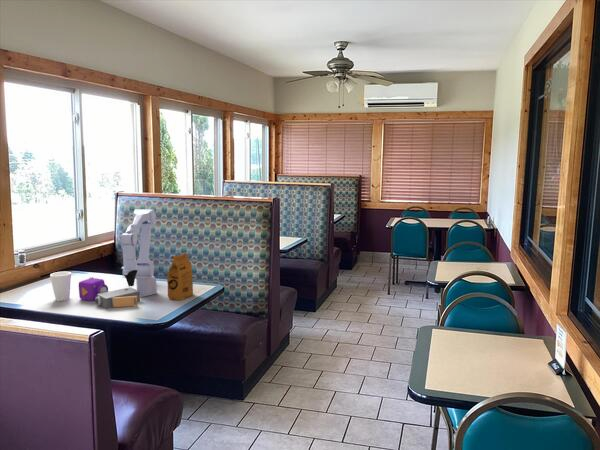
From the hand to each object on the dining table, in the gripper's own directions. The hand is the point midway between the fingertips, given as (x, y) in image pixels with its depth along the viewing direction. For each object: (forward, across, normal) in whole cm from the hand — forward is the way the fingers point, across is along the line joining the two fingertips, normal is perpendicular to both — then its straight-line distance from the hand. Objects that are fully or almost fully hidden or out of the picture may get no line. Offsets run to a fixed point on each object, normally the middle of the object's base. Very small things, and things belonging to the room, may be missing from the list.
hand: (131, 285), depth 245 cm
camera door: (+9, +3, -2) cm, 10 cm away
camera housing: (+9, -4, -8) cm, 13 cm away
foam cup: (+10, -10, -38) cm, 41 cm away
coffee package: (+10, -13, +20) cm, 26 cm away
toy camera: (+10, -10, -22) cm, 26 cm away
